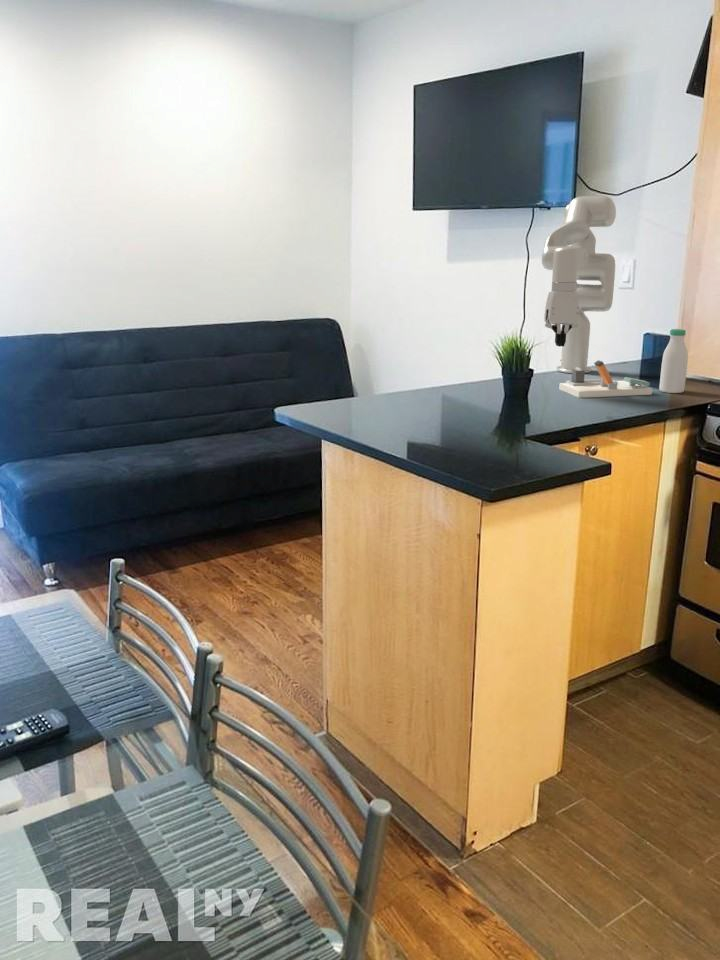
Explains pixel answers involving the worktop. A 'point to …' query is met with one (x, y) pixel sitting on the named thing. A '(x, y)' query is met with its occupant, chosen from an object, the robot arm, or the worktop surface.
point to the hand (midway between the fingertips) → (560, 345)
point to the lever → (603, 372)
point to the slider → (578, 375)
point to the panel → (603, 388)
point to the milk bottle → (674, 363)
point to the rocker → (636, 381)
